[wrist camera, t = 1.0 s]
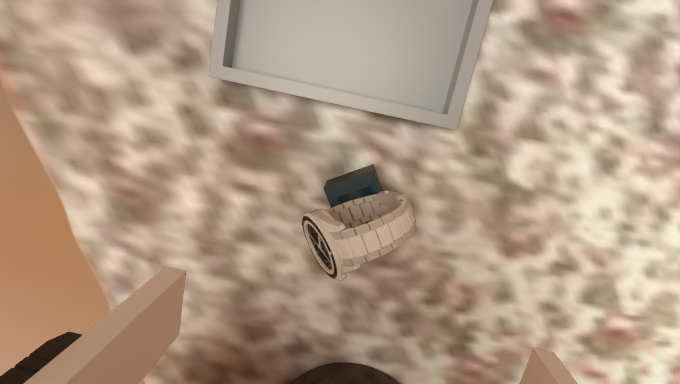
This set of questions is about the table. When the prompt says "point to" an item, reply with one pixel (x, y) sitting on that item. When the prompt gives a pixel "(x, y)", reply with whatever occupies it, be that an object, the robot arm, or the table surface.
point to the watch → (357, 222)
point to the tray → (355, 52)
